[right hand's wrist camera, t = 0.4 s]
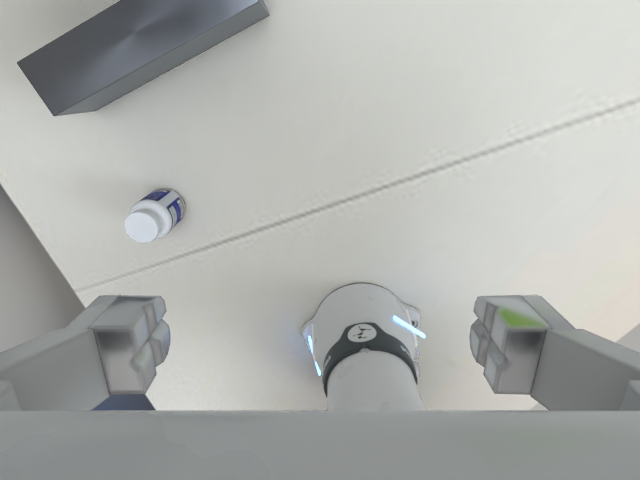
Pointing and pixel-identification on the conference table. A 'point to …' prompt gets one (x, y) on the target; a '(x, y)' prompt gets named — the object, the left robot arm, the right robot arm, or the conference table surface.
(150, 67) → the bar
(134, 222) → the pill bottle
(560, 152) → the conference table surface
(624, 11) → the conference table surface
